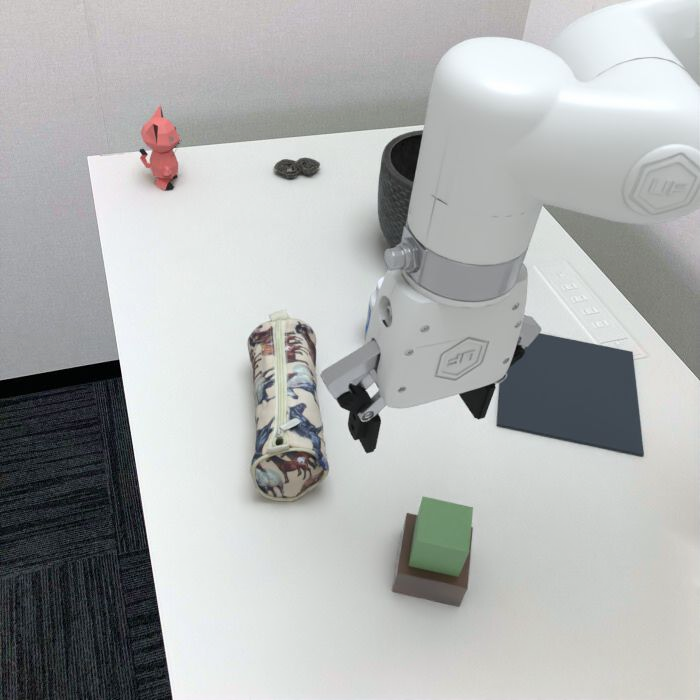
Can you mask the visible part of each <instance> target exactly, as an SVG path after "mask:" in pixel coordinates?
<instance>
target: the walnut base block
mask: <svg viewBox="0 0 700 700" xmlns="http://www.w3.org/2000/svg"><path fill="white" fill-rule="evenodd" d="M416 518H417V514H415V513H409V512H406V514H405V518H404V521H403V525H402V528H401V532H400V538H399V543H398V551H397V557H396V563H395V569H394V575H393V581H392V586H391V592H392V593H397V594H402V595H405V596H410V597H415V598H419V599H423V600H428V601H432V602H436V603H441V604H446V605H449V606H455V607H459V608H460V606H461V605H462V602H463V601H464V598H465V596H466V593H467V591H468V589H469V579H470V577H469V576H470V568H471V567H470V566H471V565H470V564H471V554H472V543H473V532H474V527H473V526H471V536H470V547H469V553H468V556H467V558H466V560H465V563H464V565H463V568H462V570H461V572H460V575H459V577H455V576H451V575H447V574H442V573H438V572H433V571H429V570H424V569H420V568H415V567H411V566H409V559H410V553H411V546H412V539H413V533H414V526H415V521H416Z"/></svg>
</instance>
